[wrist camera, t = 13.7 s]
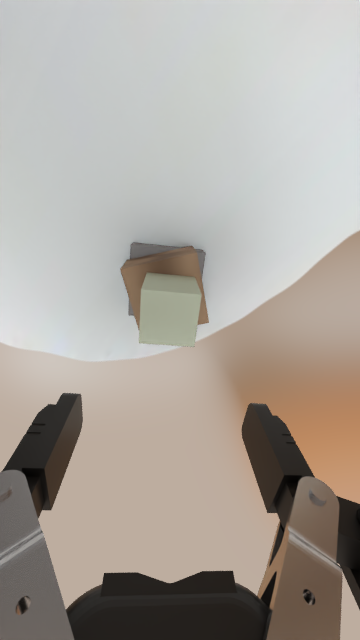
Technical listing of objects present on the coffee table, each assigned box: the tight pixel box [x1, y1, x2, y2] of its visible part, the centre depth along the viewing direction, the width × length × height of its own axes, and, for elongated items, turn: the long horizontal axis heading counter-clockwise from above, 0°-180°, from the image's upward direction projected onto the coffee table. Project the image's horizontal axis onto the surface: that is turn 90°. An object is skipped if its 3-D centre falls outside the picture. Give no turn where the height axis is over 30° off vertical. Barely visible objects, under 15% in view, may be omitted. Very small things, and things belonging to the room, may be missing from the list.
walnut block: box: [120, 246, 209, 329], centre depth 29 cm, size 8×8×5 cm
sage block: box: [139, 273, 202, 347], centre depth 24 cm, size 5×5×6 cm
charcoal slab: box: [129, 243, 206, 316], centre depth 33 cm, size 9×9×3 cm
